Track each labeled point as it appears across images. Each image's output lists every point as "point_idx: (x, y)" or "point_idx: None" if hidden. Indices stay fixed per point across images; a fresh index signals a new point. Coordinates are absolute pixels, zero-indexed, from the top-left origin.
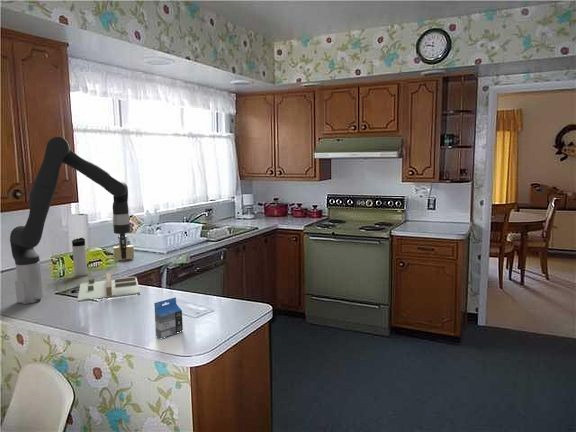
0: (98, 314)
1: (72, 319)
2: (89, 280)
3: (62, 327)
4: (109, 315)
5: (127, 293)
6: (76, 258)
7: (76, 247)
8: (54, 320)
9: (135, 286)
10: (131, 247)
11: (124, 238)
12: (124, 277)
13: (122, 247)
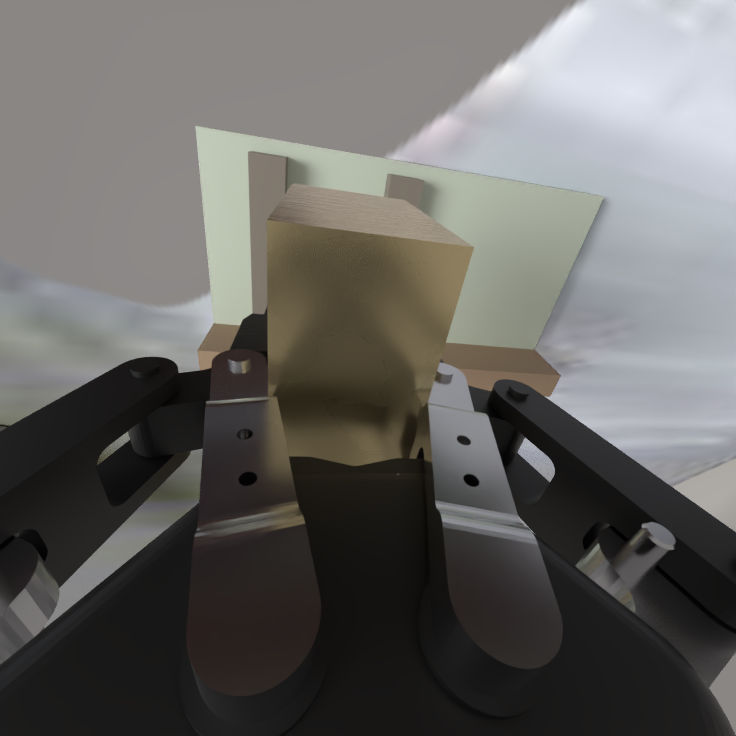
0: (678, 401)
1: (642, 463)
2: None
3: (677, 480)
4: (727, 371)
5: (565, 273)
6: None
7: None
8: None
9: (461, 196)
10: (454, 287)
11: (683, 657)
12: (253, 246)
13: (410, 448)
